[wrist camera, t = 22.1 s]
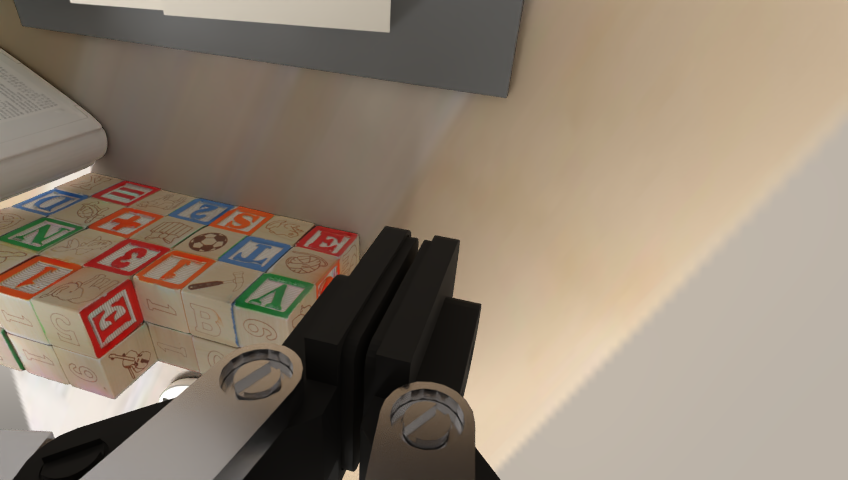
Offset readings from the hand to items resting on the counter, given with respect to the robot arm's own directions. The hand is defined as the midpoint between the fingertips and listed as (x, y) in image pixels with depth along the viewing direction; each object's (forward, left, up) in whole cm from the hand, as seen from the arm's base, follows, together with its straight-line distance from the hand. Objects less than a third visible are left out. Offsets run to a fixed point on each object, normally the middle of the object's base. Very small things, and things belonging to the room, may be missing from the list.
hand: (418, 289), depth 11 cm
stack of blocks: (-12, +19, -16) cm, 28 cm away
